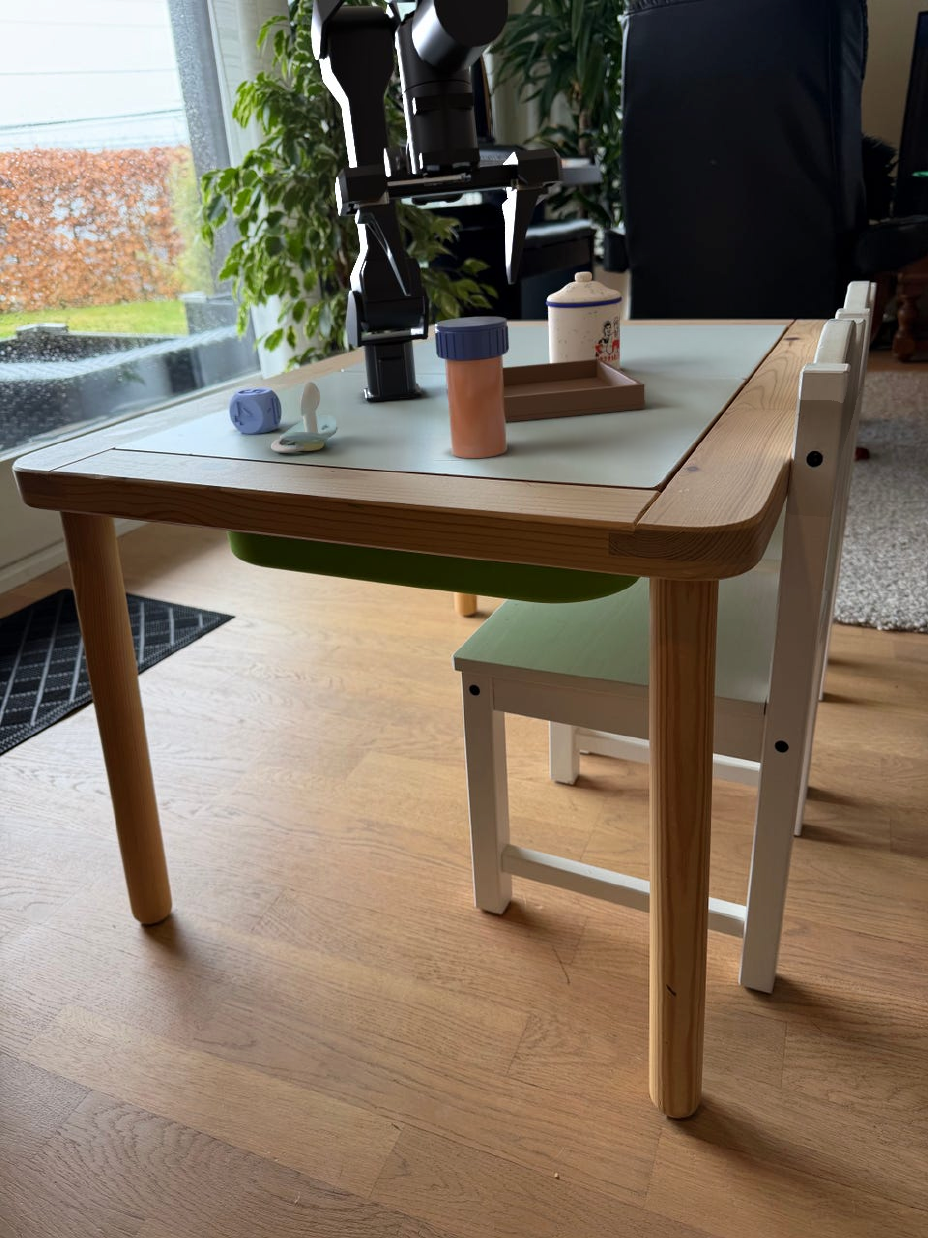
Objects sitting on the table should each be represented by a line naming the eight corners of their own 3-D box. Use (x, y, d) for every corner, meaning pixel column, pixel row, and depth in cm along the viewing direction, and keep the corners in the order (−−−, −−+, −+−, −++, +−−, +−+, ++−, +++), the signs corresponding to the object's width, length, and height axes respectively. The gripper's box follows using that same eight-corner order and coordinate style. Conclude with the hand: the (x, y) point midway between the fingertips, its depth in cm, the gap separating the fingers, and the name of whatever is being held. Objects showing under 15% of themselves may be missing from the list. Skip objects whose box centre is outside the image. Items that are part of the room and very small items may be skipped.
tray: (474, 391, 111) (472, 369, 110) (600, 379, 112) (600, 358, 111) (497, 422, 95) (496, 398, 94) (644, 408, 97) (644, 384, 96)
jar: (448, 447, 88) (439, 325, 83) (502, 441, 88) (495, 320, 84) (455, 460, 83) (446, 332, 79) (511, 455, 84) (505, 327, 79)
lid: (514, 355, 80) (513, 322, 79) (440, 362, 79) (438, 329, 78) (502, 345, 85) (500, 314, 84) (433, 351, 85) (431, 320, 84)
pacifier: (261, 459, 89) (323, 455, 88) (249, 392, 86) (312, 387, 85) (287, 440, 95) (344, 436, 94) (275, 377, 93) (334, 372, 92)
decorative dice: (266, 434, 98) (260, 395, 96) (232, 434, 99) (226, 395, 97) (284, 425, 101) (278, 387, 100) (251, 425, 102) (245, 387, 101)
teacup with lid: (609, 379, 112) (608, 275, 108) (537, 377, 116) (534, 277, 111) (636, 361, 122) (637, 265, 117) (570, 360, 126) (568, 267, 121)
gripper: (524, 110, 87) (541, 287, 91) (322, 128, 85) (349, 310, 89) (555, 70, 77) (573, 272, 80) (325, 89, 74) (355, 297, 78)
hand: (460, 289), depth 82 cm, fingers open, 9 cm apart
